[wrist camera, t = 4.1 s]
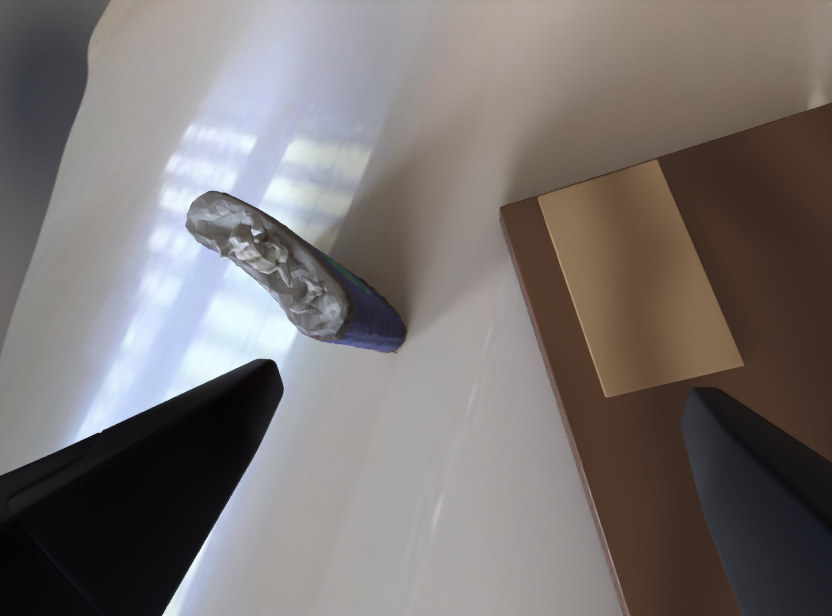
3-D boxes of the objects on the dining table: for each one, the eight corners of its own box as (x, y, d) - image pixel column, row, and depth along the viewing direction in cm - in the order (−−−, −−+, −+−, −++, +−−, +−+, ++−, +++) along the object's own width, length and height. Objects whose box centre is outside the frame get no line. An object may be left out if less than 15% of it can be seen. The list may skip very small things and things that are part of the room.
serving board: (633, 647, 19) (650, 680, 16) (499, 219, 23) (499, 204, 21) (1229, 563, 15) (1341, 591, 13) (930, 86, 20) (978, 52, 18)
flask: (281, 275, 26) (134, 202, 15) (309, 238, 26) (182, 142, 15) (390, 364, 23) (303, 351, 13) (421, 324, 23) (359, 279, 13)
